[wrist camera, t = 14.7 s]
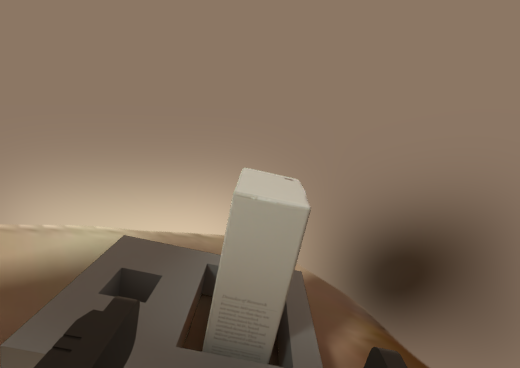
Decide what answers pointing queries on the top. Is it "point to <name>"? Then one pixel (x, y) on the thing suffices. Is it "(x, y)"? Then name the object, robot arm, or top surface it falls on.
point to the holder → (158, 310)
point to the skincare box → (256, 265)
